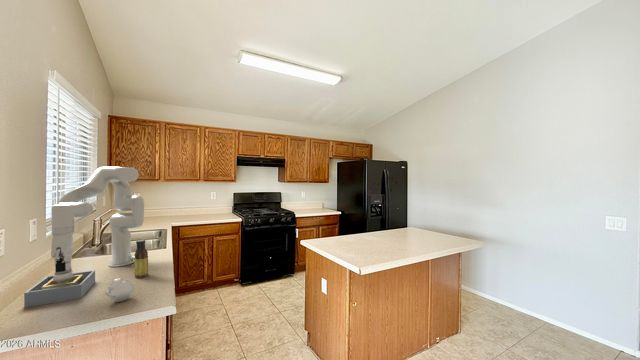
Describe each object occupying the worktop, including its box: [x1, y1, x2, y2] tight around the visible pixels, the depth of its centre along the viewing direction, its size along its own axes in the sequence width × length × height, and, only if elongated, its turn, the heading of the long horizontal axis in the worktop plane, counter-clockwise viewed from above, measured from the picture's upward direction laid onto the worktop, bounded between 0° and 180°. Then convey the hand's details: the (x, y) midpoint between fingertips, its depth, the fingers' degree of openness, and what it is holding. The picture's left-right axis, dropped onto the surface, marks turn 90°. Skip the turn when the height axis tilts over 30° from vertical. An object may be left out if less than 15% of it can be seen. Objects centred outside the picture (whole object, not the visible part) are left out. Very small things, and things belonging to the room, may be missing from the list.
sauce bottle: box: [133, 239, 149, 279], centre depth 140 cm, size 6×6×20 cm
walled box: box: [23, 269, 96, 308], centre depth 120 cm, size 18×20×6 cm
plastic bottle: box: [53, 247, 74, 284], centre depth 120 cm, size 6×7×20 cm
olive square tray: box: [41, 274, 83, 290], centre depth 120 cm, size 11×11×5 cm
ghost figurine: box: [105, 277, 135, 303], centre depth 113 cm, size 9×10×10 cm
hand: (63, 269), depth 120 cm, fingers closed on plastic bottle, 5 cm apart
